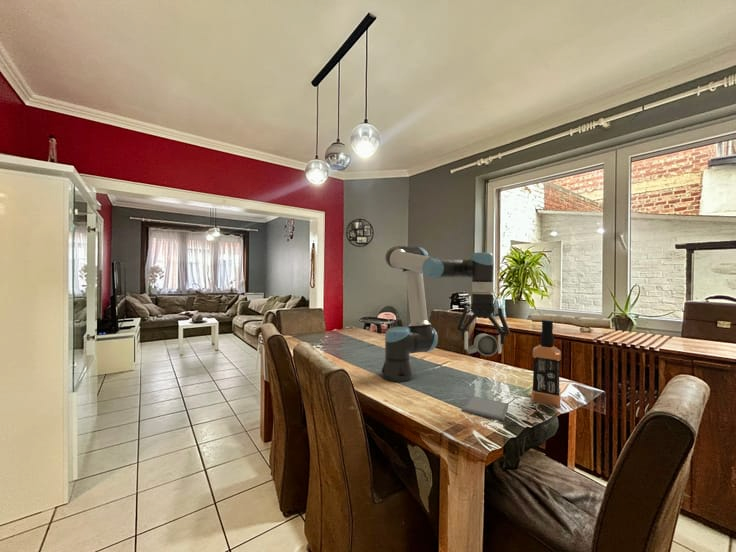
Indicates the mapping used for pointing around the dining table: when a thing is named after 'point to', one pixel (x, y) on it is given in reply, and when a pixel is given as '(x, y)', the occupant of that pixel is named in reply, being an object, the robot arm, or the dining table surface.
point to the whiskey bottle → (546, 368)
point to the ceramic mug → (484, 345)
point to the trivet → (486, 407)
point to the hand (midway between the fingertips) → (482, 350)
